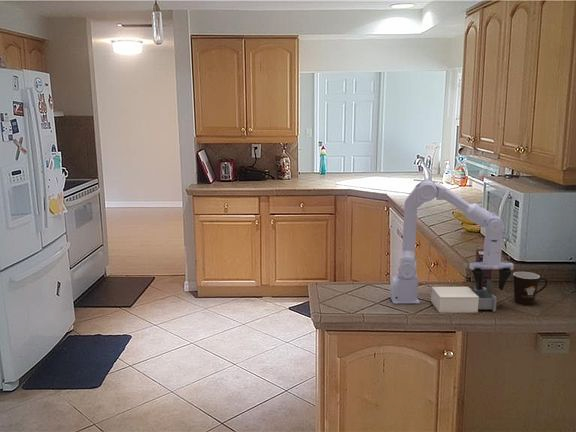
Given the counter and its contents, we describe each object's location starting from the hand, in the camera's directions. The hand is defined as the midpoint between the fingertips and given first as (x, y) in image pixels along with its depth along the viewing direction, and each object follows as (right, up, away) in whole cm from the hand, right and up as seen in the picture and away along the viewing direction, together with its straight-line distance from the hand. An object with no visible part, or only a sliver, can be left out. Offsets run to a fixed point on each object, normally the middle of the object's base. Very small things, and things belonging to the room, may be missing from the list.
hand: (489, 289), depth 189 cm
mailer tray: (-6, -6, +1) cm, 9 cm away
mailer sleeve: (-12, -6, +1) cm, 14 cm away
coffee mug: (+16, -6, +5) cm, 18 cm away
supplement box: (+3, -4, +16) cm, 17 cm away
